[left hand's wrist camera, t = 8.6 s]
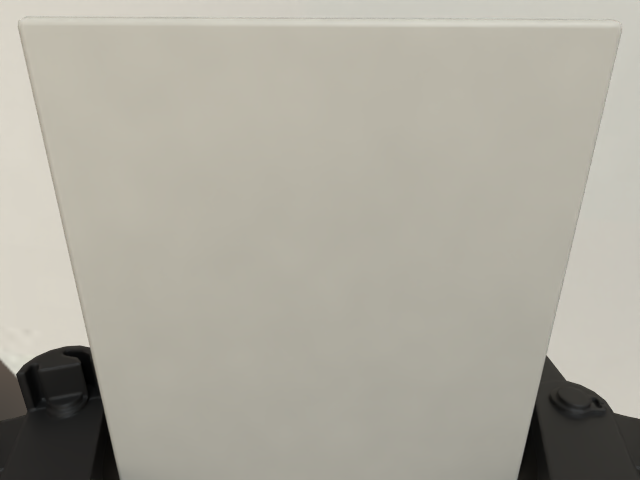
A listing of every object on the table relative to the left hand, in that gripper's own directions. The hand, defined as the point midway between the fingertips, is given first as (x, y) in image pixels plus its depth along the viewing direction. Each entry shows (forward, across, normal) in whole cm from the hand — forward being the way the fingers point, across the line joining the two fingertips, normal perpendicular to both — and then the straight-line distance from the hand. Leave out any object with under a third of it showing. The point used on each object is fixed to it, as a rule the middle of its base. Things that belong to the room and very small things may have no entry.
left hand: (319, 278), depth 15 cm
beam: (0, 0, -20) cm, 21 cm away
